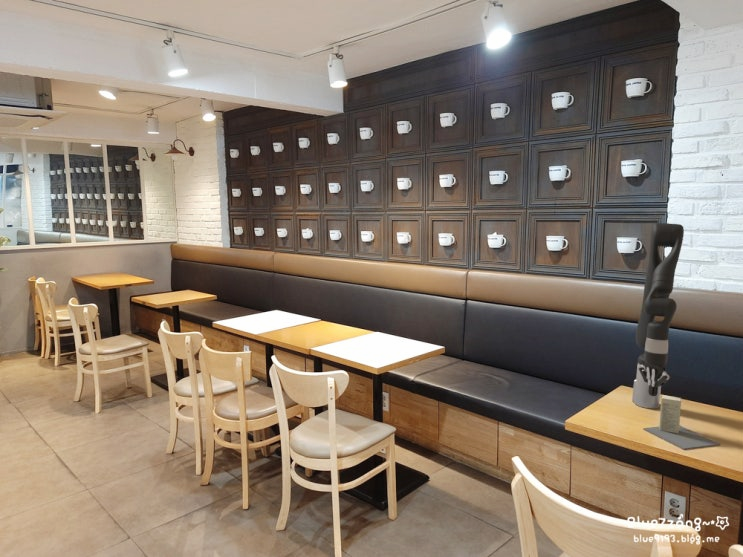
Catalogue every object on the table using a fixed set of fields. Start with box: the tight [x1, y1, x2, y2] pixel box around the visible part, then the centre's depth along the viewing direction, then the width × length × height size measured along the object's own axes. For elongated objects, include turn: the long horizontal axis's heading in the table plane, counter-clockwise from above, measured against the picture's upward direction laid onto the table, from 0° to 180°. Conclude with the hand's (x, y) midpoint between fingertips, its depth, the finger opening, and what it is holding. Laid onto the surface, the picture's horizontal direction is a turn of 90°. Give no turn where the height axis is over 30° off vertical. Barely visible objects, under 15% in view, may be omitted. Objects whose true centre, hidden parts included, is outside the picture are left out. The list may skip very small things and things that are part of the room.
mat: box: [642, 424, 721, 451], centre depth 181 cm, size 17×16×1 cm
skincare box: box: [658, 394, 682, 433], centre depth 185 cm, size 6×4×12 cm
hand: (652, 395), depth 193 cm, fingers closed
